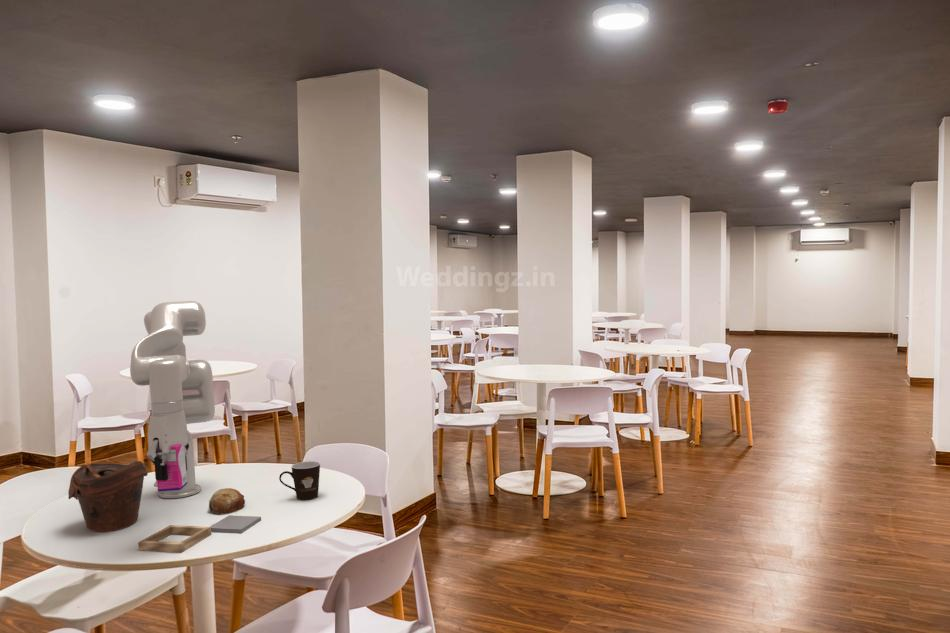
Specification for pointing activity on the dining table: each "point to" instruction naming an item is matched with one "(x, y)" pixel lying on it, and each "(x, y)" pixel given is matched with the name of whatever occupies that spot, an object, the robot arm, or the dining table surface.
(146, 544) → the oak pocket frame
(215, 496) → the bread roll
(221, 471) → the dining table surface
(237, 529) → the stone pad
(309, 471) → the coffee mug
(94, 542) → the dining table surface
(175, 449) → the supplement box
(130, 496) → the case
